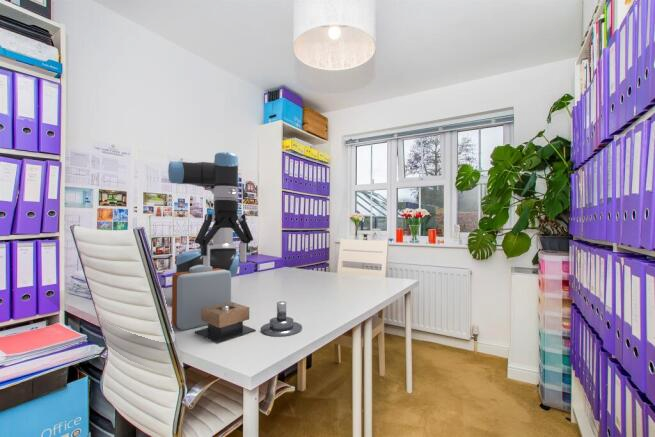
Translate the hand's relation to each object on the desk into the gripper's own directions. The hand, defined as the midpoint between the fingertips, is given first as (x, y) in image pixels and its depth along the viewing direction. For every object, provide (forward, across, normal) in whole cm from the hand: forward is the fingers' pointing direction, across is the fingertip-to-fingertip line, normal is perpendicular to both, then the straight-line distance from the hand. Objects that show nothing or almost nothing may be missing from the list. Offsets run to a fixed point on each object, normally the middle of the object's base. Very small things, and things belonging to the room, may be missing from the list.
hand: (225, 264), depth 104 cm
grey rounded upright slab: (+23, 0, +15) cm, 27 cm away
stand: (+22, 0, 0) cm, 23 cm away
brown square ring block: (+18, 0, 0) cm, 19 cm away
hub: (+23, +14, -12) cm, 29 cm away
